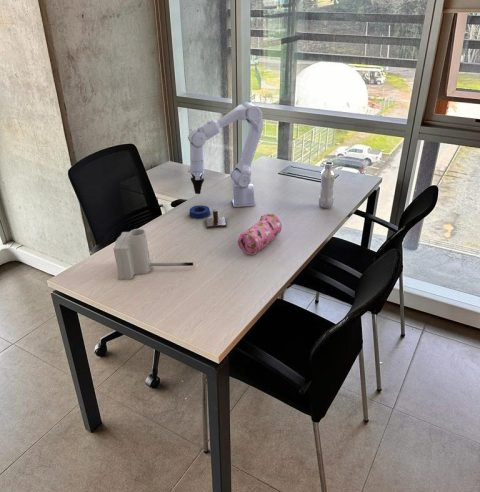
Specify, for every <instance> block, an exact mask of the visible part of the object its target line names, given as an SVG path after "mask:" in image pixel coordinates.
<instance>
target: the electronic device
mask: <svg viewBox="0 0 480 492" xmlns="http://www.w3.org/2000/svg"><path fill="white" fill-rule="evenodd" d="M113 254H114V259H115V262H116V263H115V264H116V268H117V269H116V270H117V274H118V278H119V280H132V279H133V278H134V276H135V275H144V274H147V273H150V272H151V271H152V267H194V262H191V261H190V262H152V259H151V257H150V251H149V244H148V239H147V231H146V230H145V229H143V228H134V229H131V230H130V231H122V232H121V234H120V235H119V236H118V237H117V238H116V240H115V245H114V247H113Z"/></svg>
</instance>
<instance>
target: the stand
mask: <svg viewBox="0 0 480 492" xmlns="http://www.w3.org/2000/svg"><path fill="white" fill-rule="evenodd" d="M205 222H206V229H218V228H219V229H220V228H226V227H227V223H226V218H225V216H219V211H218V209H213V210H212V217H206V218H205Z"/></svg>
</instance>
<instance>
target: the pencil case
mask: <svg viewBox="0 0 480 492" xmlns="http://www.w3.org/2000/svg"><path fill="white" fill-rule="evenodd" d="M282 228H283V224H282V222H281V219H280V218H279V217H278V215H276V214H274V213H265V214H263V215H261V216H260V219H259V220H258V221H257V222H255V223H254V224H253V225H251V227H249V228H248V229H246V230H244V231H242V232H241V233H240V234H239V237H238V239H237V246H238V248H239V249H240V250H241V251H242V252H243V253H245V254H247V255H251V256H253V255H256V254H258V252H259V251H260V250H262V249H263V248H266V247H267V246H268V245H269V244H270V243H272V241H273V240H275V238H276V237H277V236H278V235H279V234H280V233H281V231H282Z"/></svg>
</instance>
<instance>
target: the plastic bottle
mask: <svg viewBox="0 0 480 492" xmlns="http://www.w3.org/2000/svg"><path fill="white" fill-rule="evenodd" d="M335 180H336V172H335V170H334V163H333V162H332V161H325V162H324V166H323V170H322V171H321V173H320V193H319V197H318V206H319V207H320V208H325V209H329V208H331V207H332V206H333V204H334V184H335Z"/></svg>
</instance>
